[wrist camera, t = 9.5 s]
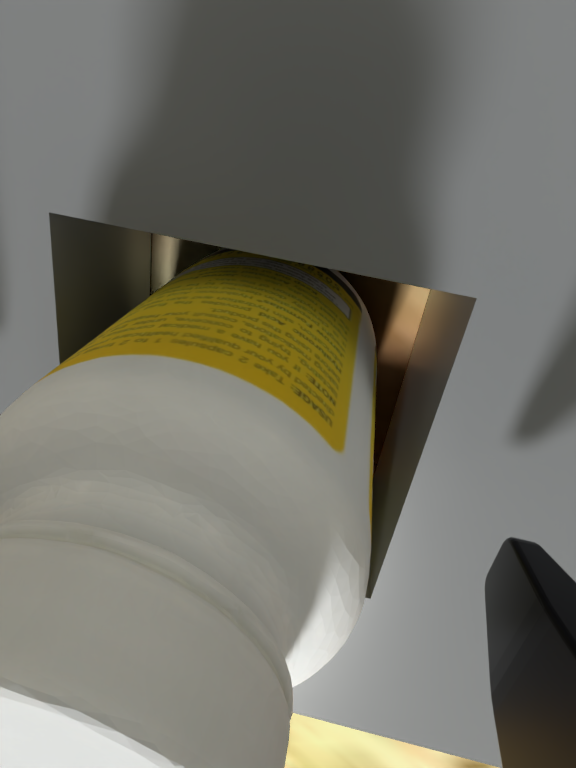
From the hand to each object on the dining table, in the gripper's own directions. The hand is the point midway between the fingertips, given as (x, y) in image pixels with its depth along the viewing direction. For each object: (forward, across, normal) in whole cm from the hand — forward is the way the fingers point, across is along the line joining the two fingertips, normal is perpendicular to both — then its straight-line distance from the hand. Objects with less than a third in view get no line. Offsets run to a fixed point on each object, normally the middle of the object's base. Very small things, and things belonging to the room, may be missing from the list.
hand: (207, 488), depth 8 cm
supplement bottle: (+6, 0, 0) cm, 6 cm away
